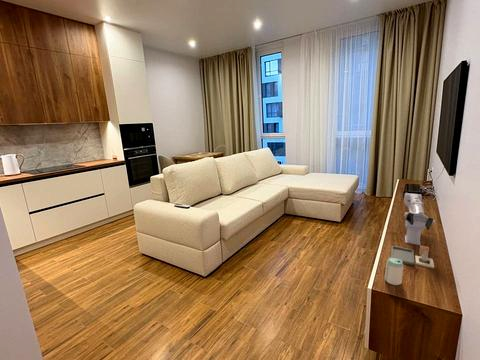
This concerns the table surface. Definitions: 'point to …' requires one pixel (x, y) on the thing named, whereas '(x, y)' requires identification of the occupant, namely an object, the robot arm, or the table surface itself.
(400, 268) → the can
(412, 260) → the tray
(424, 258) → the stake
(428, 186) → the table surface
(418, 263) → the square frame with handle
